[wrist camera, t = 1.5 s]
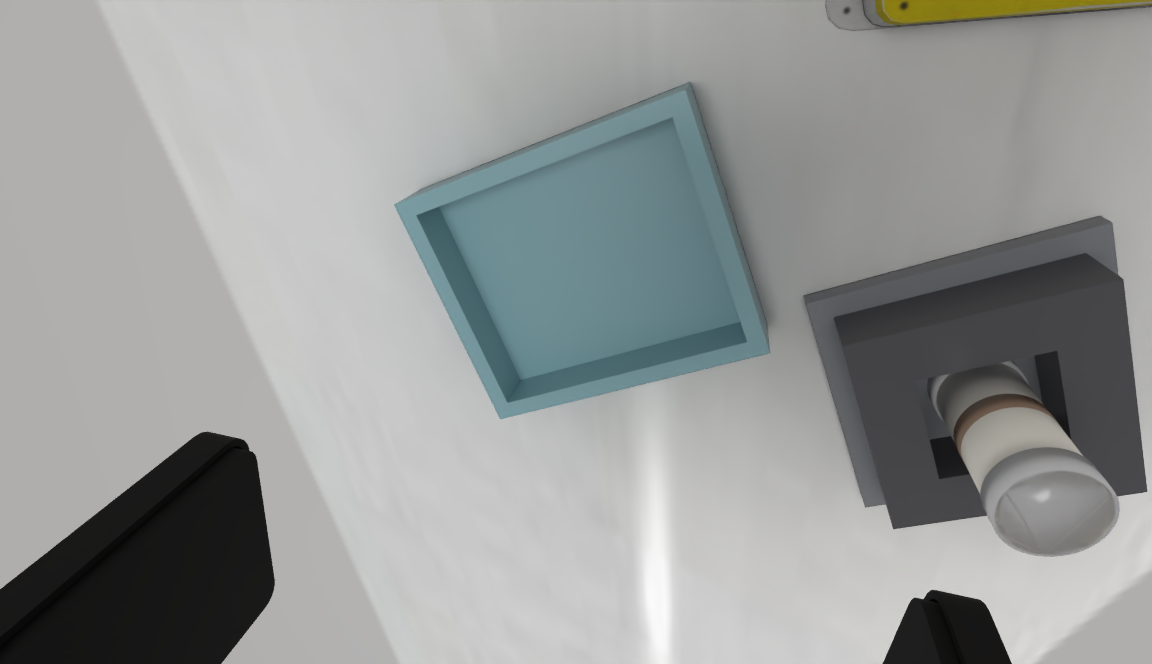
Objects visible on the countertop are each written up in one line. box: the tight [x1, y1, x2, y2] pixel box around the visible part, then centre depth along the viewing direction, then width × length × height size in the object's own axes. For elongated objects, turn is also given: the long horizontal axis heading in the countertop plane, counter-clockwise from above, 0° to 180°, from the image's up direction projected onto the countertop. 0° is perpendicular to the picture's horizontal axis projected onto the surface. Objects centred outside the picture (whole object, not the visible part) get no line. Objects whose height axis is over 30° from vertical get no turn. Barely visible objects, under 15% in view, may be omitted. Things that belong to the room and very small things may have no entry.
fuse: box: [927, 360, 1120, 557], centre depth 27 cm, size 4×4×9 cm
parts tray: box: [394, 82, 770, 419], centre depth 32 cm, size 14×12×3 cm
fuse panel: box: [804, 216, 1147, 529], centre depth 30 cm, size 12×12×4 cm
